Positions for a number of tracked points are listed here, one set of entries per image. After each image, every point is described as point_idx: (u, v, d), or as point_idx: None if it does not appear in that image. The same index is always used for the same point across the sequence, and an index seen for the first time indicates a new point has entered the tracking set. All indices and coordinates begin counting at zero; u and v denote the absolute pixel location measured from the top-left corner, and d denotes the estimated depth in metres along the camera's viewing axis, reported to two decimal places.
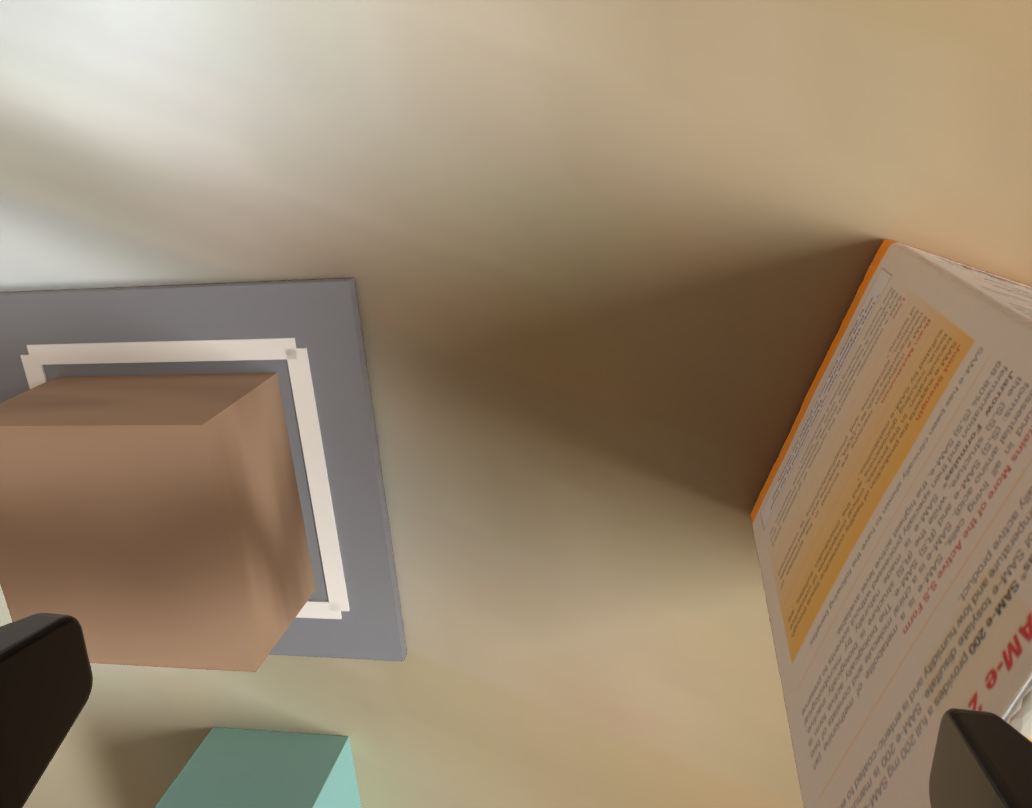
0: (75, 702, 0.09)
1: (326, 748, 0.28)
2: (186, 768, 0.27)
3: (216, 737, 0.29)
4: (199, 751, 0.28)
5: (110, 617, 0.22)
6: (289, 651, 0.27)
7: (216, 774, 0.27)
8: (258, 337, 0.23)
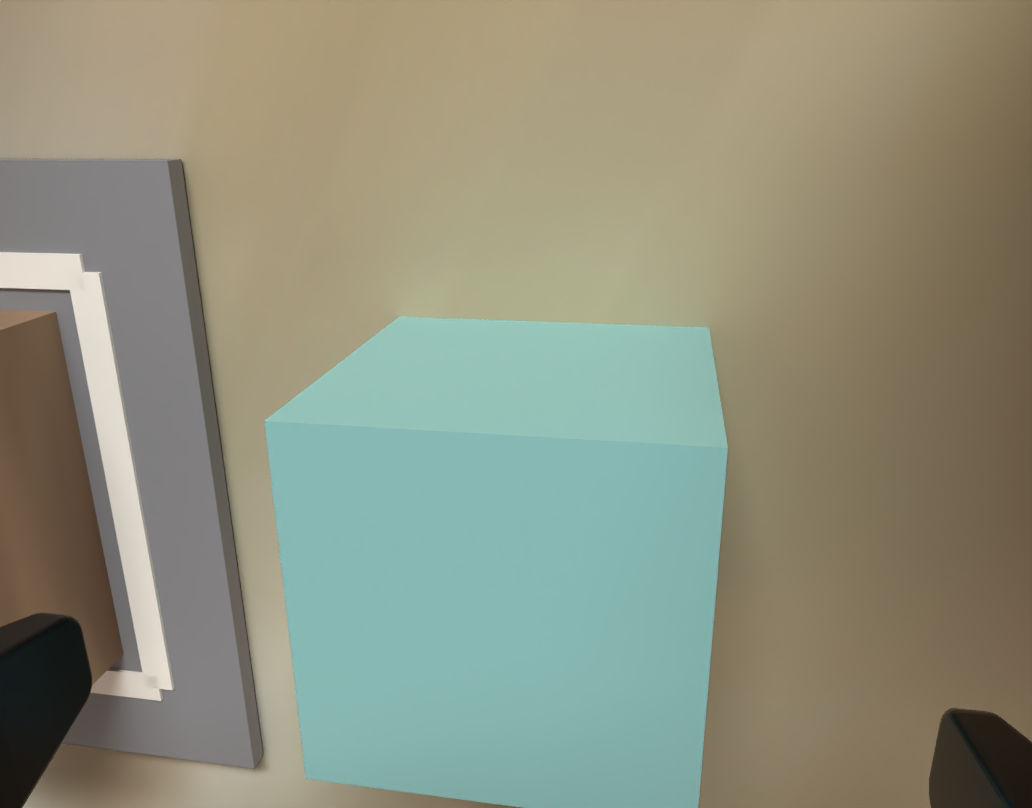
0: (75, 702, 0.09)
1: None
2: None
3: None
4: None
5: None
6: (192, 389, 0.14)
7: None
8: None
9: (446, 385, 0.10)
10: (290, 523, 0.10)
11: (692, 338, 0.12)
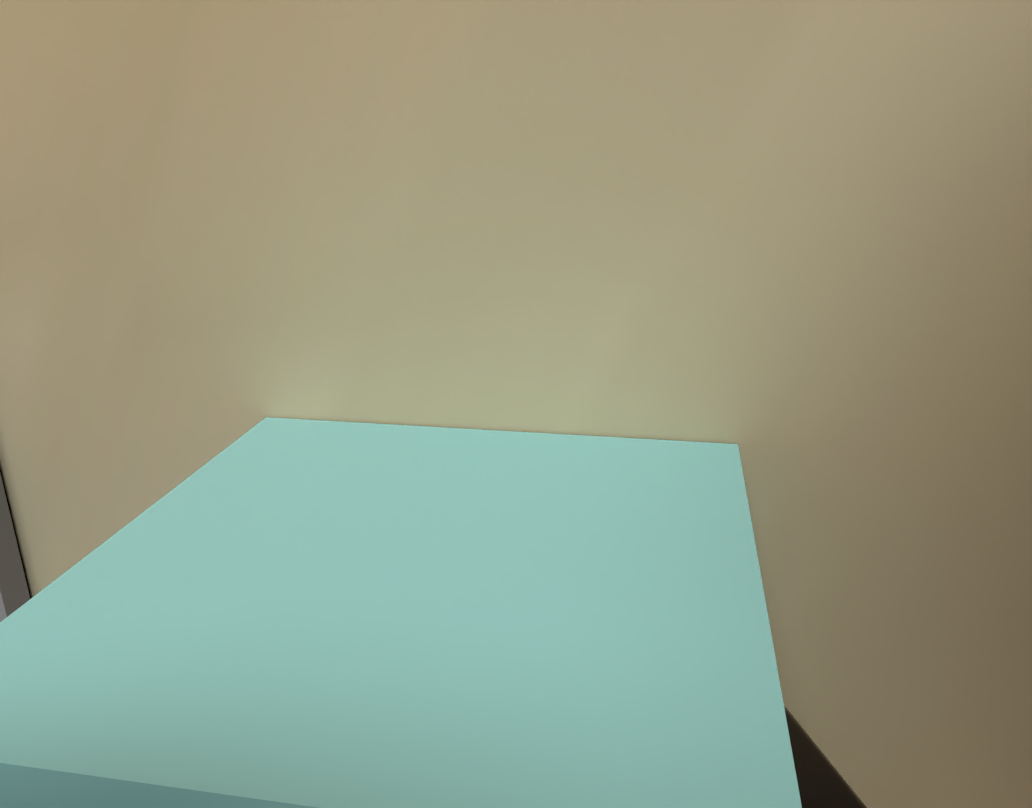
0: None
1: None
2: None
3: None
4: None
5: None
6: None
7: None
8: None
9: (265, 611, 0.06)
10: None
11: (714, 475, 0.08)
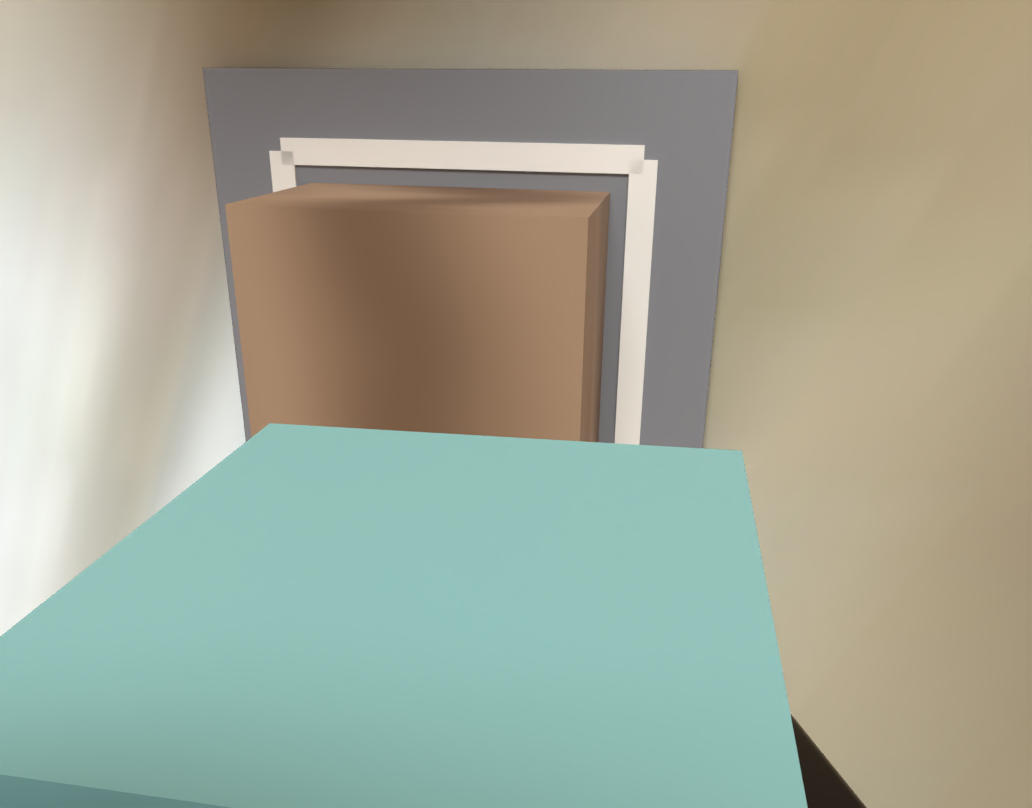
0: None
1: None
2: None
3: None
4: None
5: (503, 416, 0.17)
6: (713, 255, 0.19)
7: None
8: None
9: (272, 620, 0.06)
10: None
11: (718, 483, 0.08)
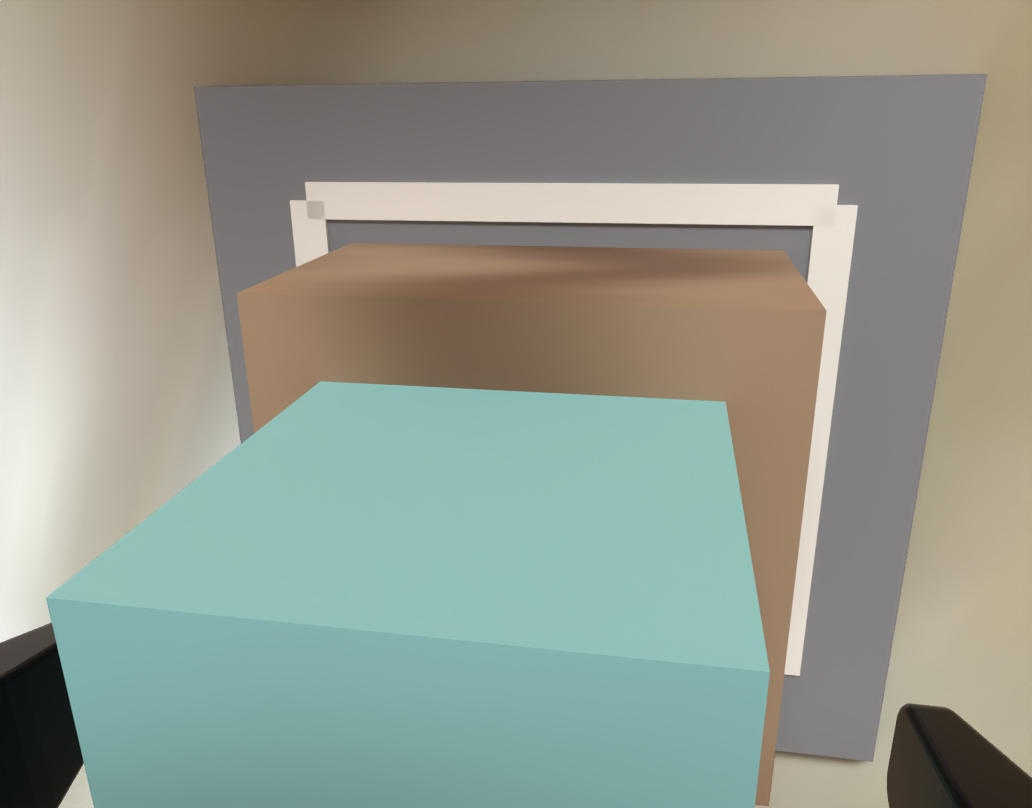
0: None
1: None
2: None
3: None
4: None
5: None
6: (932, 338, 0.13)
7: None
8: (296, 263, 0.14)
9: (346, 518, 0.07)
10: (99, 742, 0.06)
11: (704, 425, 0.09)
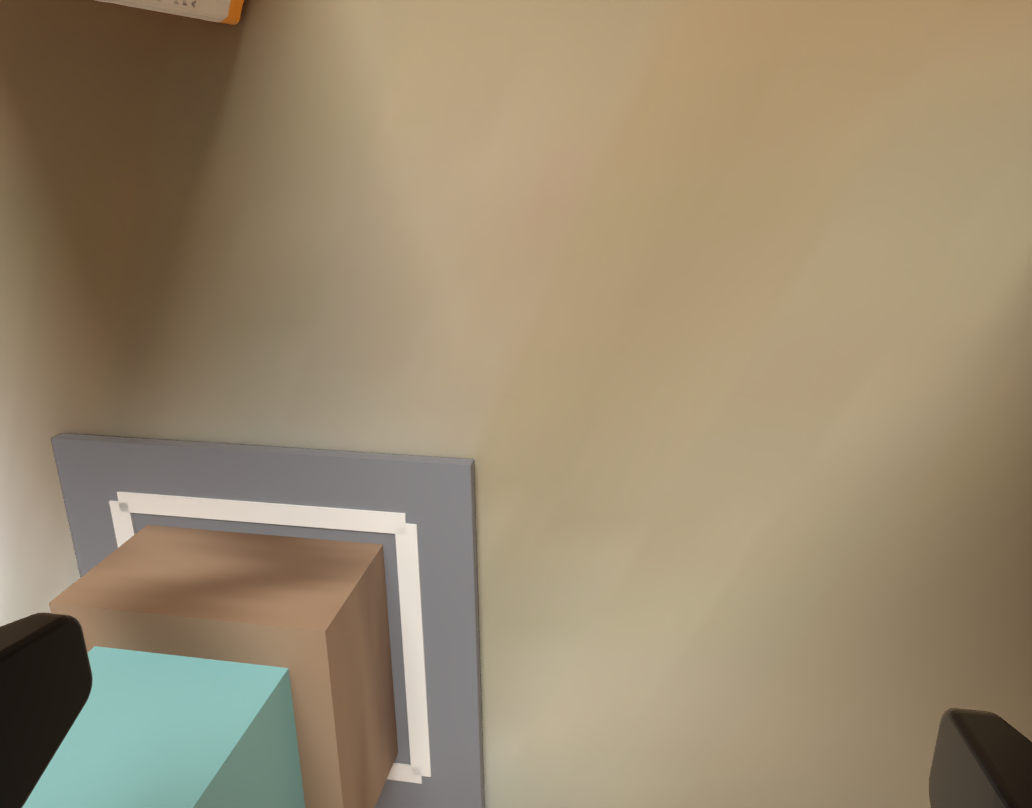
0: (75, 702, 0.09)
1: None
2: None
3: None
4: None
5: None
6: (469, 594, 0.23)
7: None
8: (116, 533, 0.24)
9: (58, 759, 0.17)
10: None
11: (261, 689, 0.19)
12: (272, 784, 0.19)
